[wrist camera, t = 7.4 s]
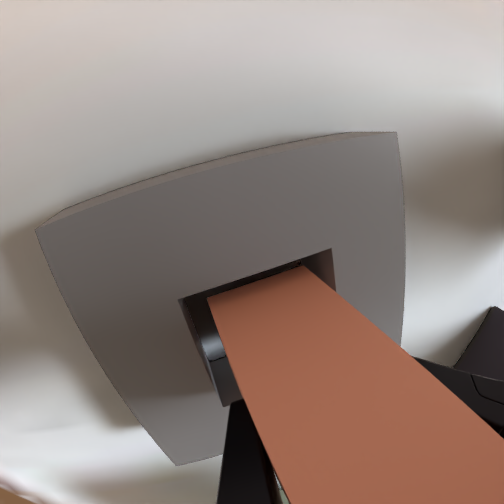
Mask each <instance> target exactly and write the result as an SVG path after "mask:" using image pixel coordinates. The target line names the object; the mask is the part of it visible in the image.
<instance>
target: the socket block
mask: <svg viewBox="0 0 504 504" xmlns="http://www.w3.org/2000/svg"><path fill="white" fill-rule="evenodd" d="M35 232H36V234H37V237H38V240H39V242H40V245H41V248H42V250H43V253H44V255H45V258H46V260H47V263H48V265H49V267H50V270H51V272H52V274H53V277H54V279H55V281H56V283H57V285H58V288H59V290H60V292H61V294H62V296H63V298H64V300H65V302H66V304H67V306H68V308H69V310H70V312H71V314H72V316H73V318H74V320H75V322H76V324H77V326H78V328H79V329H80V331H81V333H82V335H83V337H84V338H85V340H86V342H87V344H88V345H89V347H90V349H91V351H92V352H93V354H94V356H95V357H96V359H97V361H98V362H99V364H100V366H101V367H102V369H103V370H104V372H105V373H106V375H107V377H108V378H109V380H110V381H111V383H112V384H113V386H114V387H115V389H116V390H117V392H118V393H119V394H120V396H121V397H122V399H123V400H124V402H125V403H126V404H127V406H128V407H129V409H130V410H131V411H132V413H133V414H134V415H135V417H136V418H137V419H138V421H139V422H140V423H141V425H142V426H143V427H144V428H145V430H146V431H147V432H148V434H149V435H150V436H151V437H152V439H153V440H154V441H155V442H156V443H157V445H158V446H159V447H160V448H161V449H162V451H163V452H164V453H165V454H166V455H167V456H168V457H169V459H170V460H171V461H172V462H173V463H174V464H175V465H176V466H180V465H184V464H188V463H192V462H196V461H200V460H204V459H208V458H211V457H215V456H218V455H222V454H223V451H224V444H225V437H226V429H227V422H228V415H229V408H230V403H231V402H232V401H235V400H238V399H241V398H243V397H242V395H241V392H240V390H239V387H238V385H237V382H236V379H235V377H234V374H233V372H232V369H231V366H230V364H229V361H228V358H227V357H225V358H222V359H219V360H216V361H213V362H210V363H209V361H208V359H207V356H206V354H205V351H204V349H203V346H202V344H201V341H200V339H199V336H198V334H197V331H196V329H195V326H194V323H193V321H192V318H191V316H190V313H189V310H188V308H187V305H186V302H185V300H184V297H187V296H190V295H193V294H196V293H199V292H202V291H205V290H208V289H211V288H214V287H218V286H221V285H224V284H227V283H230V282H233V281H236V280H239V279H242V278H245V277H248V276H251V275H254V274H257V273H260V272H263V271H266V270H269V269H272V268H275V267H277V266H280V265H283V264H286V263H289V262H292V261H295V260H298V259H300V260H301V266H302V265H304V266H305V267H306V268H307V269H309V270H310V271H311V272H312V273H313V274H315V275H316V276H317V277H318V278H319V279H321V280H322V281H323V282H324V283H326V284H327V285H328V286H329V287H330V288H332V289H333V290H334V291H335V292H336V293H338V294H339V295H340V296H341V297H342V298H343V299H345V300H346V301H347V302H348V303H349V304H351V305H352V306H353V307H354V308H355V309H357V310H358V311H359V312H360V313H361V314H363V315H364V316H365V317H366V318H367V319H368V320H370V321H371V322H372V323H373V324H374V325H375V326H377V327H378V328H379V329H380V330H381V331H383V332H384V333H385V334H386V335H387V336H388V337H390V338H391V339H392V340H393V341H394V342H395V343H397V344H398V345H399V346H401V336H402V325H403V311H404V293H405V215H404V197H403V184H402V173H401V163H400V154H399V146H398V138H397V132H348V133H341V134H335V135H329V136H323V137H317V138H311V139H306V140H301V141H295V142H290V143H285V144H281V145H276V146H271V147H266V148H262V149H257V150H253V151H249V152H244V153H240V154H236V155H232V156H228V157H224V158H220V159H216V160H212V161H209V162H205V163H201V164H198V165H194V166H190V167H187V168H183V169H180V170H177V171H173V172H170V173H166V174H163V175H160V176H157V177H153V178H150V179H147V180H144V181H141V182H138V183H135V184H132V185H129V186H126V187H123V188H120V189H117V190H114V191H112V192H109V193H106V194H103V195H100V196H98V197H95V198H92V199H90V200H87V201H84V202H82V203H79V204H77V205H74V206H71V207H69V208H66V209H64V210H62V211H61V212H59V213H58V214H56V215H55V216H53V217H52V218H51V219H49V220H48V221H46V222H45V223H43V224H42V225H41V226H39V227H38V228H37V229H35Z"/></svg>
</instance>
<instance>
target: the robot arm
mask: <svg viewBox="0 0 504 504" xmlns="http://www.w3.org/2000/svg"><path fill="white" fill-rule="evenodd" d="M412 357H413V356H412ZM413 358H414V359H415V360H416V361H417V362H418V363H420V364H421V365H422V366H423V367H424V368H425V369H426V370H428V371H429V372H430V373H431V374H432V375H433V376H434V377H436V378H437V379H438V380H439V381H440V382H441V383H442V384H443V385H445V386H446V387H447V388H448V389H449V390H450V391H451V392H452V393H454V394H455V395H456V396H457V397H458V398H459V399H460V400H461V401H463V402H464V403H465V404H466V405H467V406H468V407H469V408H470V409H471V410H473V411H474V412H475V413H476V414H477V415H478V416H479V417H480V418H481V419H482V420H484V421H485V422H486V423H487V424H488V425H489V426H490V427H491V428H492V429H493V430H494V431H495V432H497V433H498V434H499V435H500V436H501V437H502V438H503V439H504V381H501V380H495V379H491V378H487V377H482V376H479V375H475V374H470V373H467V372H464V371H460V370H457V369H453V368H450V367H446V366H443V365H440V364H436V363H433V362H430V361H426V360H423V359H420V358H416V357H413ZM216 504H283V501H282V498H281V495H280V491H279V488H278V484H277V481H276V477H275V474H274V470H273V467H272V465H271V462H270V460H269V458H268V455H267V453H266V451H265V448H264V446H263V443H262V441H261V438H260V436H259V434H258V431H257V429H256V427H255V424H254V422H253V419H252V417H251V415H250V412H249V410H248V408H247V405H246V403H245V400H244V398H241V399H238V400H235V401H232V402H231V403H230V408H229V415H228V422H227V429H226V437H225V444H224V451H223V458H222V466H221V473H220V480H219V488H218V495H217V502H216Z"/></svg>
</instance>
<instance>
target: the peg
mask: <svg viewBox="0 0 504 504" xmlns="http://www.w3.org/2000/svg"><path fill="white" fill-rule="evenodd" d="M207 301H208V304H209V307H210V310H211V313H212V316H213V319H214V321H215V324H216V327H217V330H218V333H219V336H220V339H221V341H222V344H223V347H224V350H225V353H226V355H227V358H228V361H229V364H230V366H231V369H232V372H233V374H234V377H235V379H236V382H237V385H238V387H239V390H240V392H241V395H242V397H243V398H244V400H245V403H246V405H247V408H248V410H249V412H250V415H251V417H252V419H253V422H254V424H255V427H256V429H257V431H258V434H259V436H260V438H261V441H262V443H263V446H264V448H265V451H266V453H267V455H268V458H269V460H270V462H271V465H272V467H273V470H274V472H275V474H276V476H277V479H278V481H279V483H280V485H281V487H282V489H283V492H284V494H285V496H286V498H287V500H288V502H289V504H504V439H503V438H502V437H501V436H500V435H499V434H498V433H497V432H495V431H494V430H493V429H492V428H491V427H490V426H489V425H488V424H487V423H486V422H485V421H484V420H482V419H481V418H480V417H479V416H478V415H477V414H476V413H475V412H474V411H473V410H471V409H470V408H469V407H468V406H467V405H466V404H465V403H464V402H463V401H461V400H460V399H459V398H458V397H457V396H456V395H455V394H454V393H452V392H451V391H450V390H449V389H448V388H447V387H446V386H445V385H443V384H442V383H441V382H440V381H439V380H438V379H437V378H436V377H434V376H433V375H432V374H431V373H430V372H429V371H428V370H426V369H425V368H424V367H423V366H422V365H421V364H420V363H418V362H417V361H416V360H415V359H414V358H413V357H412V356H410V355H409V354H408V353H407V352H406V351H405V350H403V349H402V348H401V347H400V346H399V345H398V344H397V343H395V342H394V341H393V340H392V339H391V338H390V337H388V336H387V335H386V334H385V333H384V332H383V331H381V330H380V329H379V328H378V327H377V326H375V325H374V324H373V323H372V322H371V321H370V320H368V319H367V318H366V317H365V316H364V315H363V314H361V313H360V312H359V311H358V310H357V309H355V308H354V307H353V306H352V305H351V304H349V303H348V302H347V301H346V300H345V299H343V298H342V297H341V296H340V295H339V294H338V293H336V292H335V291H334V290H333V289H332V288H330V287H329V286H328V285H327V284H326V283H324V282H323V281H322V280H321V279H319V278H318V277H317V276H316V275H315V274H313V273H312V272H311V271H310V270H309V269H307V268H306V267H305V266H304V265H302V266H299V267H296V268H293V269H291V270H288V271H285V272H282V273H279V274H276V275H273V276H270V277H267V278H265V279H262V280H259V281H256V282H253V283H250V284H247V285H244V286H241V287H238V288H235V289H232V290H229V291H226V292H223V293H220V294H217V295H214V296H211V297H208V298H207Z"/></svg>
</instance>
